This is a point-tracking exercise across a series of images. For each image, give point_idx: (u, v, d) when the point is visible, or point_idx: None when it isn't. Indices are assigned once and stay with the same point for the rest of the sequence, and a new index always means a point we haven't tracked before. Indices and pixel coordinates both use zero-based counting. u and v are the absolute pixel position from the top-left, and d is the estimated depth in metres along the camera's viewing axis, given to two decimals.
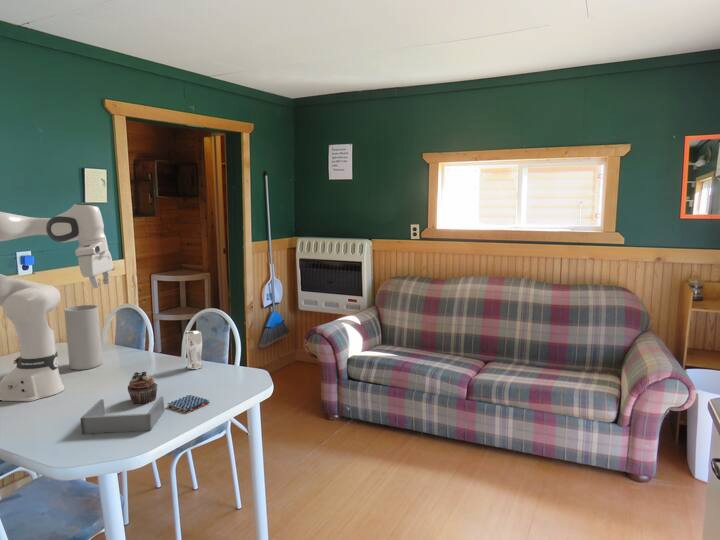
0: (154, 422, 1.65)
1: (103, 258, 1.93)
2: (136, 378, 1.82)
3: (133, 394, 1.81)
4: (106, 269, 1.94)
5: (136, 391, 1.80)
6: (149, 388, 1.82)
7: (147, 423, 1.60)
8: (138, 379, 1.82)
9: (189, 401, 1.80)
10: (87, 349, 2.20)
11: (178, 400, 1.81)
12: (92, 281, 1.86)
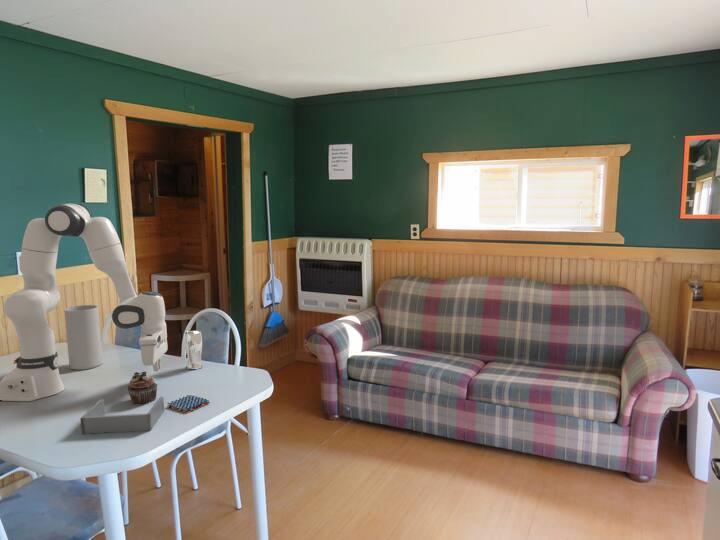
0: (154, 422, 1.65)
1: (161, 343, 2.03)
2: (136, 378, 1.82)
3: (133, 394, 1.81)
4: (162, 353, 2.04)
5: (136, 391, 1.80)
6: (149, 388, 1.82)
7: (147, 423, 1.60)
8: (138, 379, 1.82)
9: (189, 401, 1.80)
10: (87, 349, 2.20)
11: (178, 400, 1.81)
12: (154, 364, 1.99)
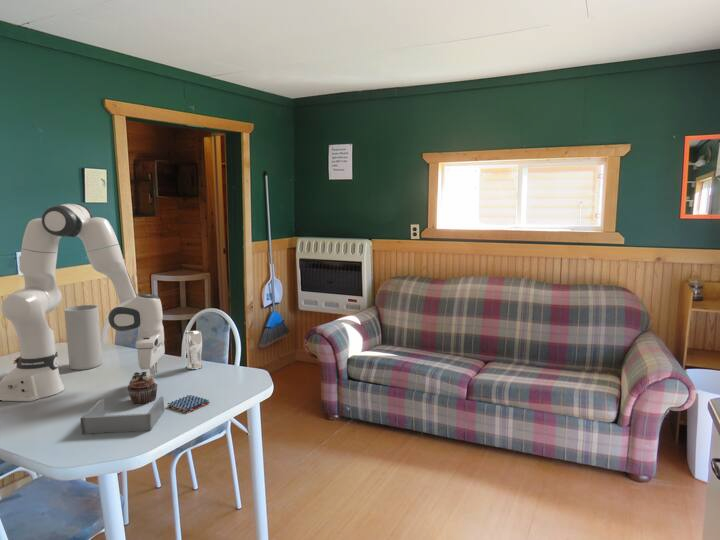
0: (154, 422, 1.65)
1: (158, 346, 1.99)
2: (136, 378, 1.82)
3: (133, 394, 1.81)
4: (159, 357, 2.00)
5: (136, 391, 1.80)
6: (149, 388, 1.82)
7: (147, 423, 1.60)
8: (138, 379, 1.82)
9: (189, 401, 1.80)
10: (87, 349, 2.20)
11: (178, 400, 1.81)
12: (150, 368, 1.96)
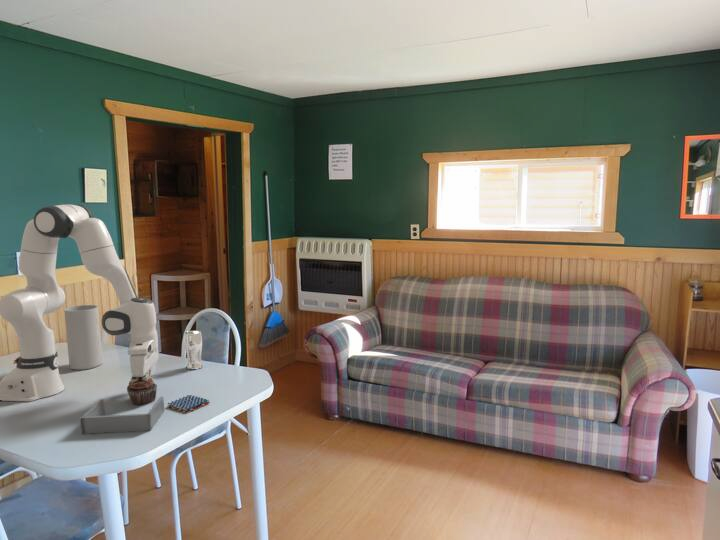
0: (154, 422, 1.65)
1: (151, 352, 1.91)
2: (135, 379, 1.81)
3: (133, 395, 1.80)
4: (153, 363, 1.92)
5: (135, 391, 1.79)
6: (149, 389, 1.81)
7: (147, 423, 1.60)
8: (138, 380, 1.81)
9: (189, 401, 1.80)
10: (87, 349, 2.20)
11: (178, 400, 1.81)
12: None
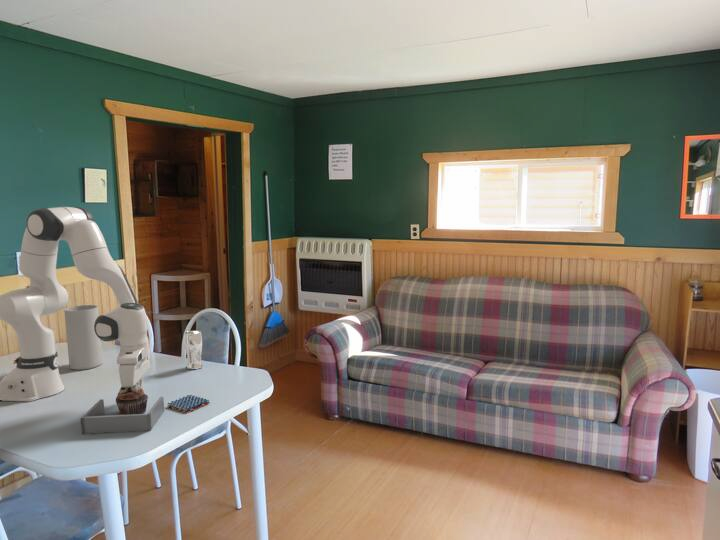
0: (154, 422, 1.65)
1: (142, 361, 1.81)
2: (124, 389, 1.71)
3: (121, 406, 1.70)
4: (144, 373, 1.82)
5: (124, 403, 1.69)
6: (138, 400, 1.71)
7: (147, 423, 1.60)
8: (127, 390, 1.71)
9: (189, 401, 1.80)
10: (87, 349, 2.20)
11: (178, 400, 1.81)
12: None
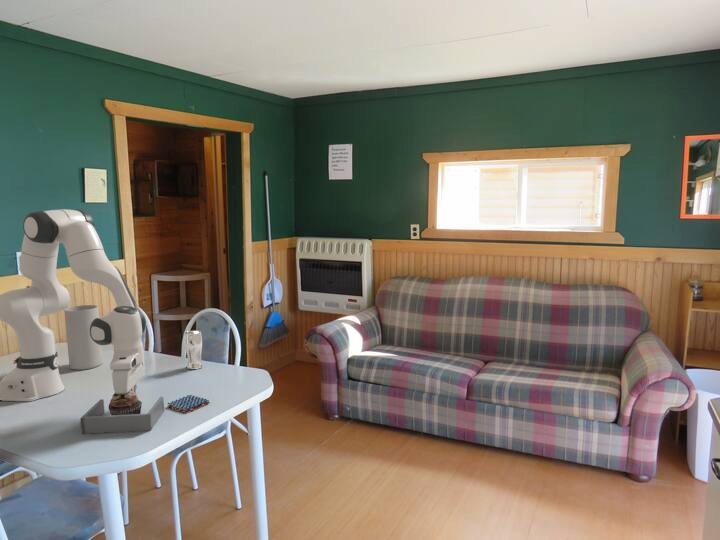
0: (154, 422, 1.65)
1: (137, 366, 1.75)
2: (117, 396, 1.65)
3: (114, 413, 1.65)
4: (139, 378, 1.76)
5: (117, 410, 1.64)
6: (131, 407, 1.66)
7: (147, 423, 1.60)
8: (120, 397, 1.65)
9: (189, 401, 1.80)
10: (87, 349, 2.20)
11: (178, 400, 1.81)
12: None
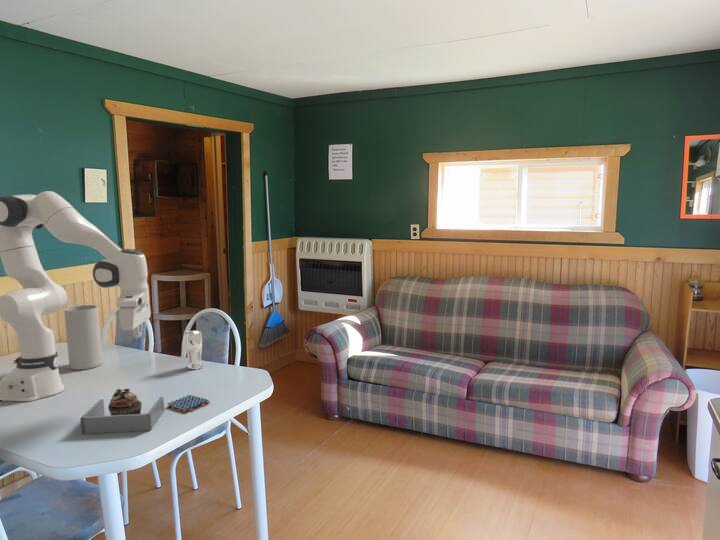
0: (154, 422, 1.65)
1: (142, 308, 1.83)
2: (117, 396, 1.65)
3: (114, 413, 1.65)
4: (144, 319, 1.83)
5: (117, 410, 1.64)
6: (131, 407, 1.65)
7: (147, 423, 1.60)
8: (119, 397, 1.65)
9: (189, 401, 1.80)
10: (87, 349, 2.20)
11: (178, 400, 1.81)
12: (134, 331, 1.79)
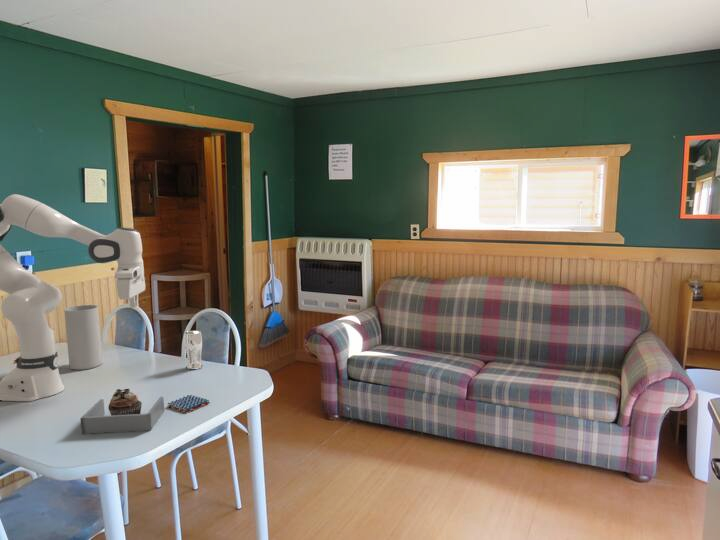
0: (154, 422, 1.65)
1: (138, 280, 2.03)
2: (117, 396, 1.65)
3: (114, 413, 1.65)
4: (139, 291, 2.04)
5: (117, 410, 1.64)
6: (131, 407, 1.65)
7: (147, 423, 1.60)
8: (119, 397, 1.65)
9: (189, 401, 1.80)
10: (87, 349, 2.20)
11: (178, 400, 1.81)
12: (130, 301, 1.99)
